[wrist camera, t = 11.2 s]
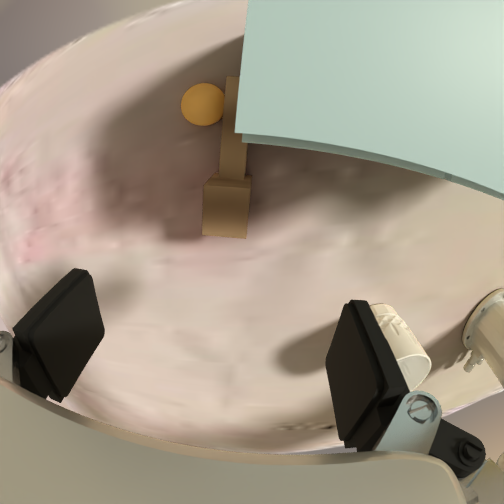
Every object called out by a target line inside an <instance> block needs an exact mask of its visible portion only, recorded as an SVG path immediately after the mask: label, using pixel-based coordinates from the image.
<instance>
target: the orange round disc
mask: <svg viewBox="0 0 504 504" xmlns="http://www.w3.org/2000/svg"><path fill="white" fill-rule="evenodd" d="M224 98H225V95H224V93H223V92H222V91H221V90H220V89H219V88H218V87H216V86H215V85H212V84H209V83H200V84H197V85H194V86H192V87H191V88H189V89H188V90H187V91H186V93H185V94H184V96H183V98H182V101H181V110H182V113H183V115H184V117H185V118H186V119H187V120H188V121H189V122H191V123H193V124H195V125H201V126H207V125H212V124H214V123H216V122H218V121H219V120H220V119H221V118H222V117H223V109H224Z"/></svg>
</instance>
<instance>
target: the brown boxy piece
mask: <svg viewBox="0 0 504 504" xmlns="http://www.w3.org/2000/svg"><path fill="white" fill-rule="evenodd" d="M239 81H240V77H237V76H227V77H226V87H225V98H224V109H223V121H222V133H221V146H220V161H219V173H214V174H213V175H212V177H211V178H210V179H209V180H208V181H207V182H206V183H205V184H204V188H203V216H202V235H208V236H220V237H232V238H244V239H246V235H247V225H248V214H249V203H250V192H251V181H252V175H245V170H246V158H247V147H248V143H245V142H242V133H235V123H236V112H237V101H238V91H239Z"/></svg>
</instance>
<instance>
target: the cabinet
mask: <svg viewBox="0 0 504 504" xmlns="http://www.w3.org/2000/svg"><path fill="white" fill-rule="evenodd" d="M235 133H242V142H245V143H257V144H267V145H277V146H285V147H293V148H301V149H308V150H315V151H322V152H328V153H334V154H339V155H345V156H350V157H356V158H361V159H366V160H370V161H375V162H380V163H384V164H388V165H393V166H397V167H401V168H405V169H409V170H413V171H417V172H420V173H424V174H427V175H431V176H434V177H438V178H441V179H446V180H448V181H451V182H454V183H457V184H460V185H463V186H466V187H469V188H472V189H475V190H478V191H481V192H483V193H486V194H489V195H491V196H494V197H497V198H499V199H502V200H504V0H249V1H248V9H247V17H246V26H245V34H244V43H243V52H242V61H241V71H240V81H239V91H238V101H237V112H236V123H235Z"/></svg>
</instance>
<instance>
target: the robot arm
mask: <svg viewBox="0 0 504 504" xmlns="http://www.w3.org/2000/svg"><path fill="white" fill-rule="evenodd" d="M12 329H13V331H14V334H15V337H14V338H13V337H12V336H11V334H10V333H8V332H6V331H0V504H504V452H503V453H502V454H501V455H500V457H499V458H498V460H497V462H496V463H495V462H493V461H492V460H491V459H490V458H488V459H487V460H486V459H485V455H486V453H485V448H484V445H483V444H482V442H481V441H480V440H479V439H478V438H477V437H475V436H473V435H471V434H469V433H467V432H465V431H464V430H462V429H460V428H458V427H456V426H454V425H452V424H450V423H448V422H447V421H445V420H443V419H441V416H442V410H441V406H440V404H439V402H438V400H437V399H436V398H435V397H434V396H432V395H431V394H429V393H427V392H424V391H413V392H410V390H409V388H408V386H407V383H406V381H405V379H404V376H403V374H402V372H401V369H400V367H399V365H398V363H397V360H396V358H395V356H394V354H393V352H392V349H391V347H390V345H389V343H388V341H387V339H386V338H385V336H384V334H383V332H382V330H381V328H380V326H379V324H378V322H377V320H376V318H375V316H374V314H373V312H372V310H371V308H370V306H369V304H368V302H367V301H365V300H350V302H349V304H347V303H346V304H345V305H344V307H343V310H342V313H341V316H340V319H339V322H338V325H337V328H336V331H335V334H334V337H333V340H332V343H331V346H330V348H329V351H328V354H327V357H326V370H327V375H328V380H329V386H330V391H331V396H332V401H333V407H334V412H335V418H336V424H337V430H338V435H339V439H340V440H341V441H344V445H345V448H353V447H356V448H357V452H353V453H337V454H315V455H279V454H256V453H243V452H232V451H223V450H215V449H208V448H202V447H196V446H190V445H184V444H179V443H174V442H169V441H165V440H160V439H156V438H152V437H148V436H144V435H140V434H137V433H133V432H130V431H126V430H123V429H120V428H117V427H113V426H110V425H107V424H104V423H102V422H99V421H96V420H93V419H90V418H88V417H85V416H83V415H80V414H77V413H75V412H73V411H70V410H68V409H65V408H63V407H61V406H59V405H56V404H54V403H52V402H50V401H48V400H46V398H47V396H48V395H49V397H50V398H51V399H53V400H55V401H57V402H59V403H61V402H62V400H63V398H64V397H67V396H68V394H69V393H70V391H71V389H72V388H73V386H74V384H75V382H76V381H77V379H78V377H79V376H80V374H81V372H82V371H83V369H84V367H85V366H86V364H87V362H88V361H89V359H90V358H91V356H92V354H93V353H94V351H95V350H96V348H97V347H98V345H99V343H100V342H101V340H102V339H103V337H104V333H105V329H104V325H103V322H102V318H101V314H100V310H99V306H98V302H97V297H96V293H95V288H94V284H93V279H92V276H91V275H90V274H89V272H88V271H87V270H82V269H76V268H74V269H72V270H71V271H70V272H69V273H68V274H67V275H66V276H65V277H63V278H62V279H61V280H60V281H59V282H58V283H57V284H56V285H55V286H54V287H53V288H52V289H51V290H50V291H49V292H48V293H47V294H45V295H44V296H43V297H42V298H41V299H40V300H39V301H38V302H37V303H36V304H35V305H34V306H33V307H32V308H31V309H30V310H29V311H28V313H27V314H26V315H25V316H24V317H23V318H22V319H21V320H20V321H19V322H18V323H17V324H16V325H15V326H14V327H13V328H12ZM462 341H463V344H464V345H465V347H466V348H467V349H469V350H472V352H471V357H470V358H469V359H468V361H467V362H466V364H465V365H464V367H463V368H464V370H465V371H466V372H471V370H472V369H473V367H474V366H475V364H476V363H477V364H478V365H480V364H481V363H482V361H483V360H484V359H485V360H486V362H487V363H488V365H489V366H490V368H491V369H492V371H493V372H494V374H495V375H496V377H497V378H498V380H499V381H500V383H501V385H502V386H503V388H504V289H498V290H496V291H494V292H493V293H491V294H490V295H488V296H487V297H486V298H485V299H484V300H483V301H482V302H481V303H480V304H479V305H478V307H477V308H476V309H475V310H474V312H473V313H472V315H471V316H470V318H469V320H468V321H467V324H466V326H465V328H464V331H463V336H462Z"/></svg>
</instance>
